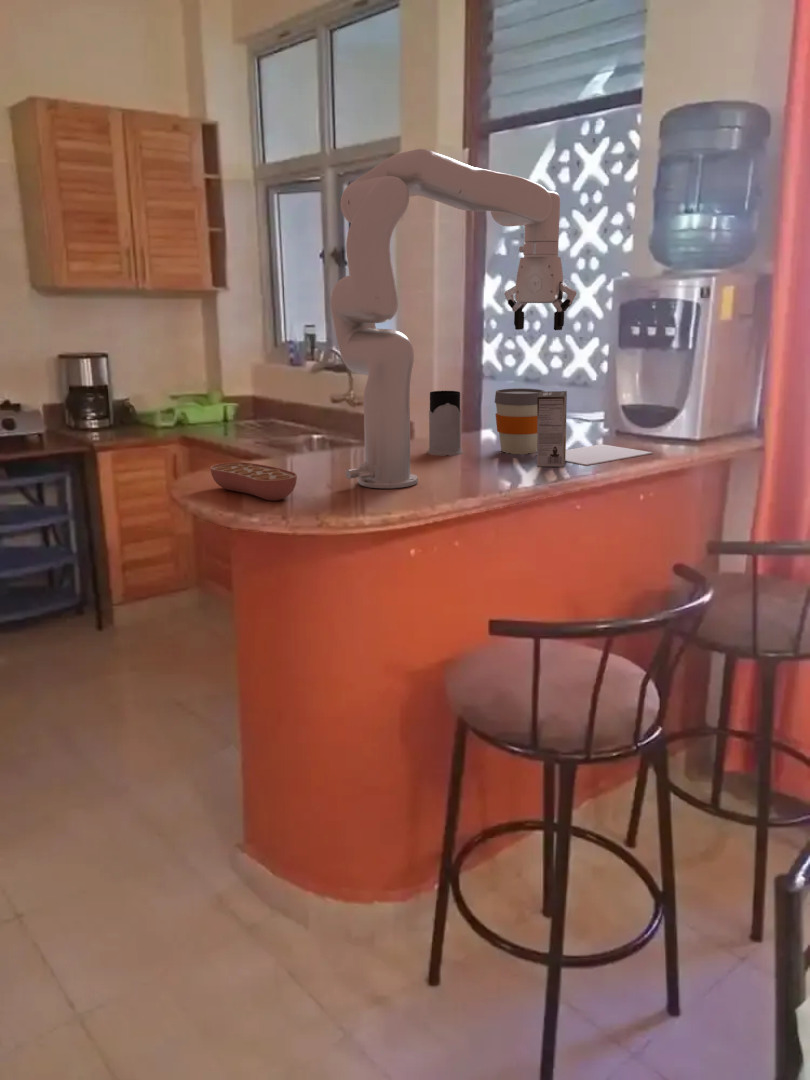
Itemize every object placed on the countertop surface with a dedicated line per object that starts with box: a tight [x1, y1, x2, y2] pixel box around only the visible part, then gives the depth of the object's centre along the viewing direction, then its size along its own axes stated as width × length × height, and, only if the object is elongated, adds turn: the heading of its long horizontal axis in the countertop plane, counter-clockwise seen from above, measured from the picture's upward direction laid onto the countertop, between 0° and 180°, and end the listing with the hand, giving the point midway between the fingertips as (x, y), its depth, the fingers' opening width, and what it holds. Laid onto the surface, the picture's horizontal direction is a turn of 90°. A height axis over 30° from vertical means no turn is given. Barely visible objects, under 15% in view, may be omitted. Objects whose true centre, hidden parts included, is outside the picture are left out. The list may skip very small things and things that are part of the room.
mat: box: [535, 443, 653, 466], centre depth 213 cm, size 24×16×1 cm, turn 127°
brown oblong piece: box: [209, 461, 298, 502], centre depth 175 cm, size 23×10×5 cm, turn 45°
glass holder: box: [427, 390, 463, 457], centre depth 220 cm, size 9×14×15 cm, turn 7°
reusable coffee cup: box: [494, 387, 546, 455], centre depth 218 cm, size 13×12×15 cm
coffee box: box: [536, 390, 568, 468], centre depth 201 cm, size 9×6×16 cm
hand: (538, 329), depth 200 cm, fingers open, 9 cm apart
